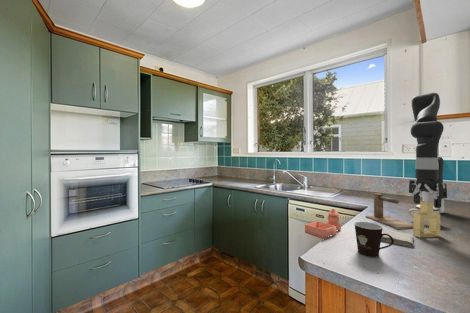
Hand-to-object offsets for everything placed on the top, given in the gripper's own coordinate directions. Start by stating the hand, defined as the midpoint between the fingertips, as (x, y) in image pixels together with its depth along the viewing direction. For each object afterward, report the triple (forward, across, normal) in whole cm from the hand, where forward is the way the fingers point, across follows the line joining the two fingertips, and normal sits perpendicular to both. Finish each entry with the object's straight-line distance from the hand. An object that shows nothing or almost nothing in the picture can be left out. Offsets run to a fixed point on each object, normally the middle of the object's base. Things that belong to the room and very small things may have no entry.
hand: (426, 205), depth 94 cm
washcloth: (+14, +1, +18) cm, 23 cm away
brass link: (+13, 0, 0) cm, 13 cm away
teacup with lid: (+14, +15, -16) cm, 25 cm away
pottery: (+14, +12, +40) cm, 44 cm away
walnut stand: (+13, +18, 0) cm, 22 cm away
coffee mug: (+13, -12, +37) cm, 41 cm away
